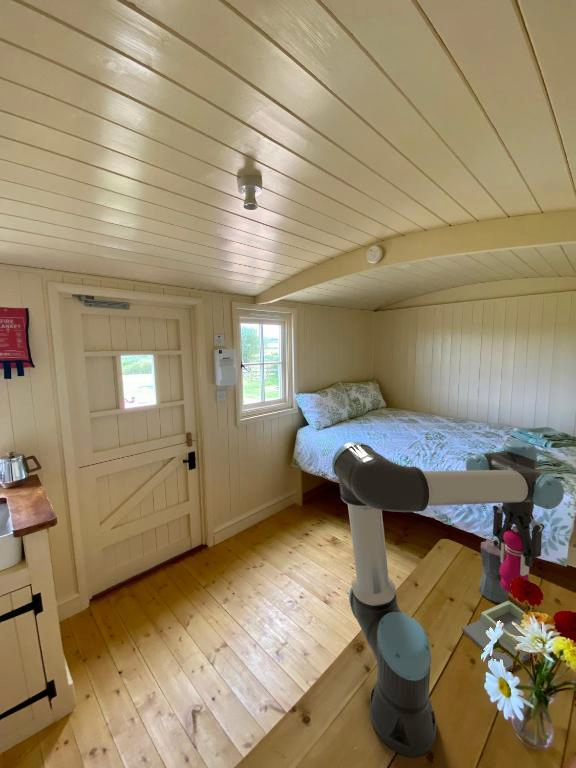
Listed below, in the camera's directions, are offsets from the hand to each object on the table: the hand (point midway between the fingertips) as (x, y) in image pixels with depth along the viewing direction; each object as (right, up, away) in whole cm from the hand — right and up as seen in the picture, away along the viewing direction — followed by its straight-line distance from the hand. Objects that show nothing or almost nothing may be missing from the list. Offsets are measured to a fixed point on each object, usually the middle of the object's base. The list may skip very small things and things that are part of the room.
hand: (514, 567), depth 97 cm
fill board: (-2, -23, +2) cm, 23 cm away
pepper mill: (0, -7, +1) cm, 7 cm away
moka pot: (+6, -21, +18) cm, 28 cm away
